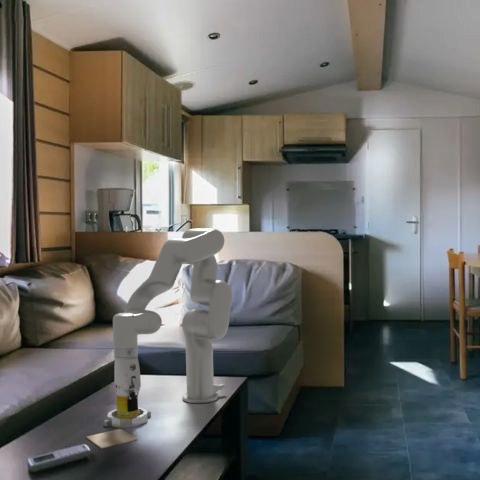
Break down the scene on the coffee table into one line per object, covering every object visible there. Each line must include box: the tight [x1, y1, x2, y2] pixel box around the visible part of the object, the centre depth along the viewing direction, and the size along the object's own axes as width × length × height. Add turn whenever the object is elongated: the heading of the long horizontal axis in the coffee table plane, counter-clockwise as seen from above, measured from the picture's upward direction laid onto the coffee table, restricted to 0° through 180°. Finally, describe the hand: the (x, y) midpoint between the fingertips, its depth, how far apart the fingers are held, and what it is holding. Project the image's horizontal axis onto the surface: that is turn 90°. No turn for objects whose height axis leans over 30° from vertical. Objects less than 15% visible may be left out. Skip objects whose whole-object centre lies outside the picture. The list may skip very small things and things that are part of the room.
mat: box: [85, 428, 138, 449], centre depth 186 cm, size 11×11×1 cm
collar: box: [103, 407, 152, 429], centre depth 202 cm, size 15×12×2 cm
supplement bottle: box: [116, 383, 139, 418], centre depth 202 cm, size 7×7×13 cm
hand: (127, 407), depth 202 cm, fingers closed on supplement bottle, 6 cm apart
